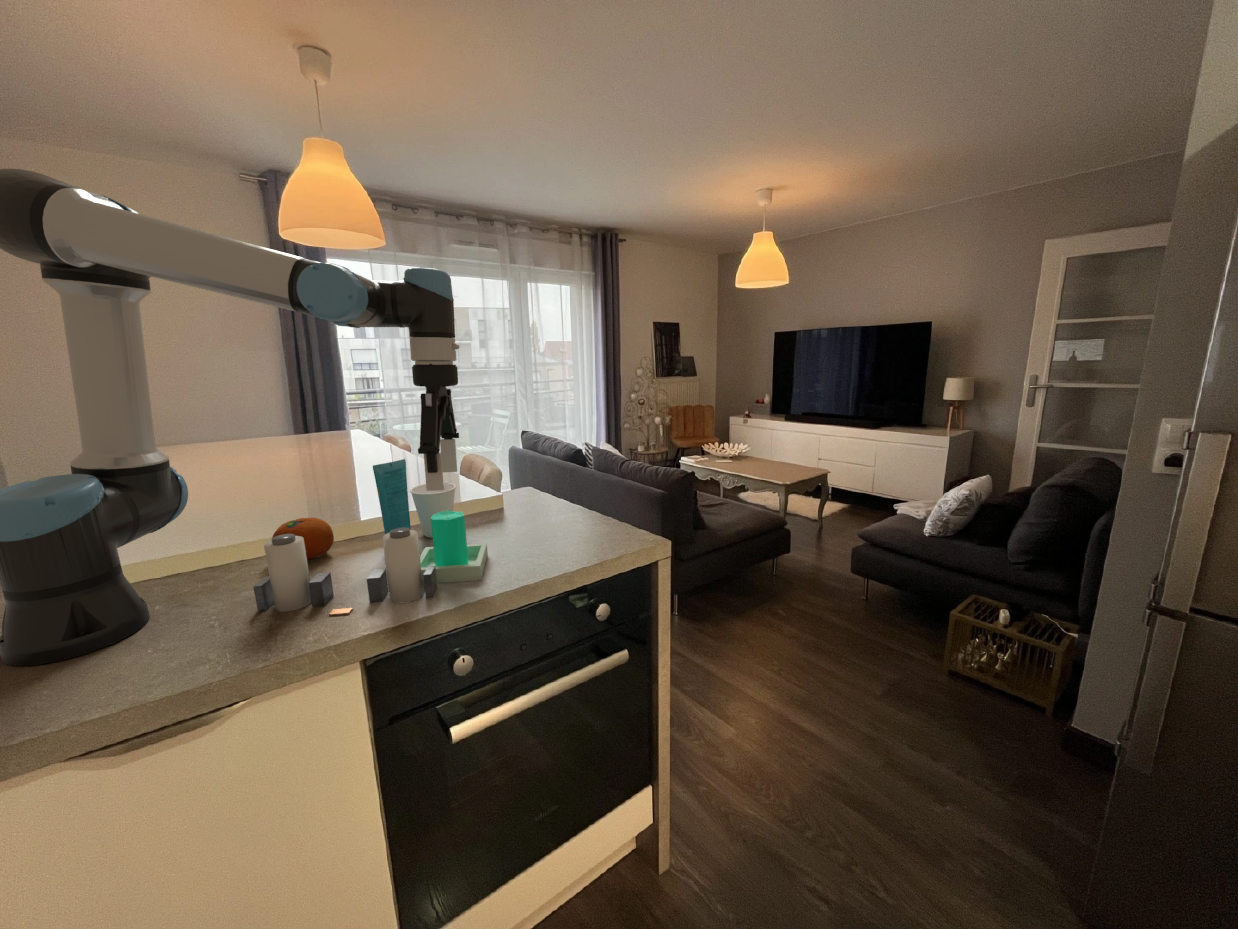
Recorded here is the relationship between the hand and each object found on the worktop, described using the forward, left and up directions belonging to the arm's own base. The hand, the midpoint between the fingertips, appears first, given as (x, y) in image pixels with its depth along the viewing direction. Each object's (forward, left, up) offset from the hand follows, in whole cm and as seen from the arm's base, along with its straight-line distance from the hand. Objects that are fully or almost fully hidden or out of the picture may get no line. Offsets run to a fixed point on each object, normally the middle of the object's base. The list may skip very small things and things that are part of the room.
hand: (443, 480), depth 92 cm
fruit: (-31, +11, -18) cm, 37 cm away
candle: (0, 0, -17) cm, 17 cm away
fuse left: (-24, -9, -18) cm, 31 cm away
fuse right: (-6, -9, -18) cm, 21 cm away
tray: (0, 0, -18) cm, 18 cm away
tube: (-13, +12, -18) cm, 25 cm away
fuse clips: (-15, -11, -18) cm, 26 cm away
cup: (-7, +21, -18) cm, 28 cm away
